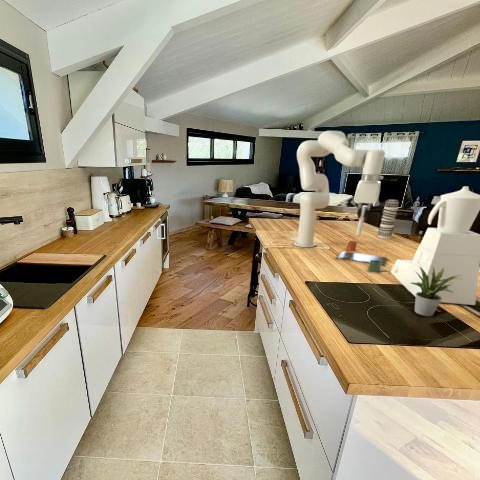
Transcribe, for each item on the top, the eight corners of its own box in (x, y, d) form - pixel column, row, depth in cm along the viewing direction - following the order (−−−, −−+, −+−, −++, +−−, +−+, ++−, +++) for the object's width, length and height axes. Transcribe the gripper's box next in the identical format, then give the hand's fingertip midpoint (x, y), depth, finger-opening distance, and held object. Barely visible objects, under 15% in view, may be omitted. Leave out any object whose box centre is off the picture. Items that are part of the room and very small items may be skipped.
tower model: (391, 238, 212) (400, 201, 202) (376, 237, 216) (384, 200, 207) (392, 236, 219) (401, 199, 210) (377, 235, 223) (385, 198, 214)
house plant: (454, 328, 96) (472, 278, 90) (401, 317, 103) (414, 270, 97) (449, 311, 107) (464, 266, 101) (401, 302, 114) (413, 259, 108)
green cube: (367, 272, 147) (369, 261, 145) (368, 269, 150) (371, 259, 148) (378, 273, 144) (381, 263, 142) (379, 271, 148) (382, 261, 146)
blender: (387, 273, 145) (409, 182, 130) (433, 276, 141) (461, 183, 126) (416, 301, 115) (449, 188, 101) (474, 306, 111) (518, 189, 96)
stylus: (355, 236, 158) (361, 206, 152) (356, 235, 160) (362, 205, 154) (359, 237, 157) (366, 206, 151) (360, 236, 159) (367, 206, 153)
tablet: (336, 259, 166) (336, 257, 166) (342, 252, 179) (342, 251, 178) (383, 266, 155) (383, 264, 154) (386, 258, 167) (386, 257, 167)
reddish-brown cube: (345, 250, 184) (347, 241, 182) (347, 248, 188) (348, 240, 186) (354, 251, 182) (356, 242, 180) (355, 249, 185) (357, 241, 183)
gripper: (390, 178, 146) (381, 218, 153) (353, 177, 155) (346, 215, 162) (388, 179, 141) (379, 220, 148) (350, 178, 149) (343, 217, 156)
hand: (362, 217), depth 155 cm, fingers closed on stylus, 2 cm apart
